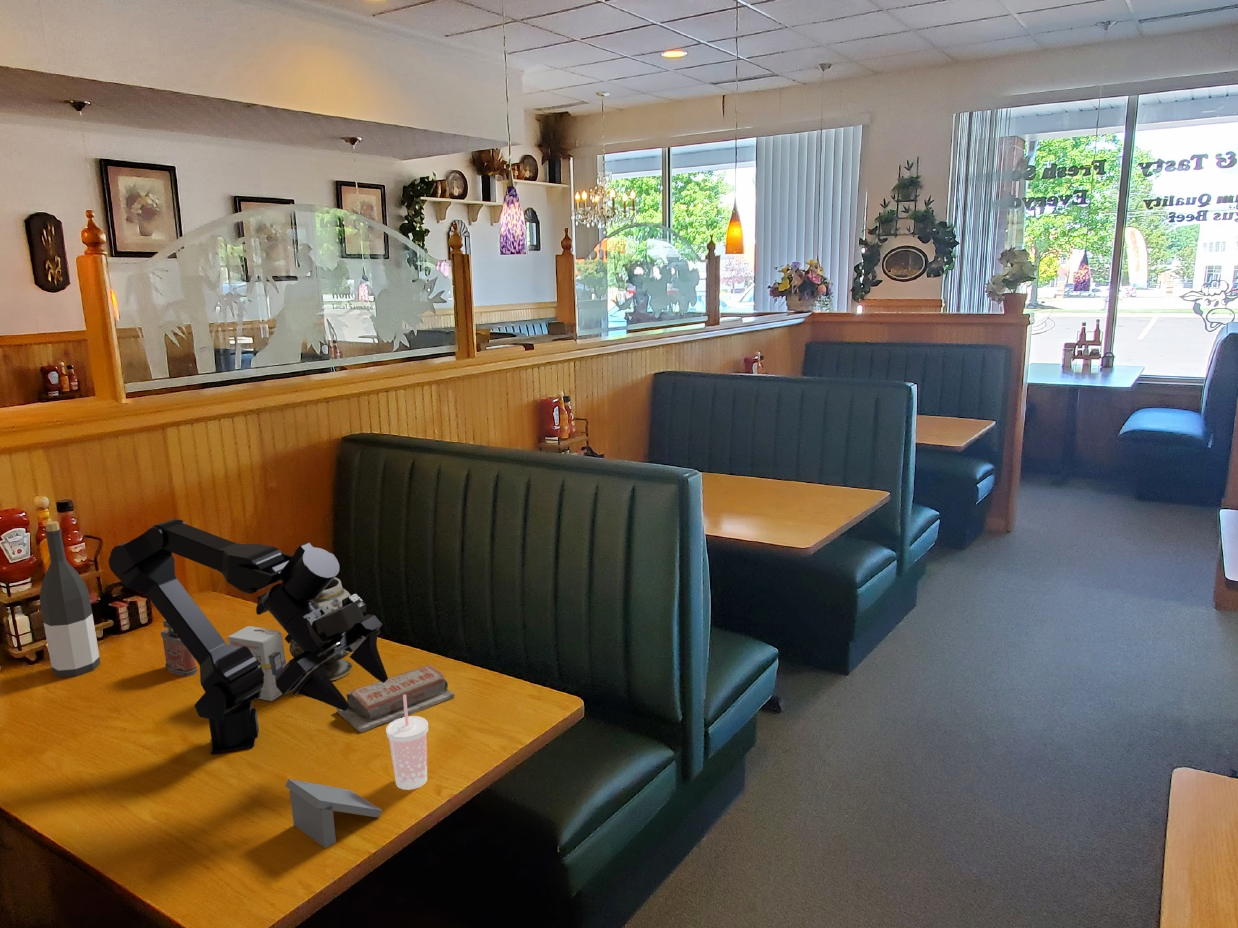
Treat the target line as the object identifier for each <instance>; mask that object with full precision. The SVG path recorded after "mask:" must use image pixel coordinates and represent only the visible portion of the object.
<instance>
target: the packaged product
mask: <svg viewBox="0 0 1238 928" xmlns="http://www.w3.org/2000/svg"><path fill="white" fill-rule="evenodd" d="M448 685H449V683H448V681H447V679H446V677H445V676H444V674H443V673H442V671H440V670H438V669H437V668H435V667H434V666H433V665H430V664H427V665H425V666H421V667H418V668H415V669H412V670H409V671H405V672H403V673H400V674H398V675H394V676H391V677H388V680H387V681H386V682H384V683H382V682H381V681H379V680H378V681H376V682H374V683H371V684H368V685H365V686H363V687H359V688H356V689H352V690H351V691H348V693H346V701H347V702H348V704H349V706H350V707H349V708H348V709H347V710H346V711H343V710H341V709H338V708H336V710H337V711H336V712H337V713H338V714H339V715H340V716H341V717H343V719H344V720H346V721H347V723H349V724H350V725H351V726H352V727H353V728H354V729H355V731H358V732H359V733H364V732H367V731H369V730H373V729H375V728H377V727H379V726H381V725H384V724H387V723H388V724H389V723H391V722H393V721H394V720H396V719H399V718H401V717H405V714H404V702H403V695H405V694H406V699H407V711H408V716H409V715H410V716H411V715H413V714H416V713H418V712H421V711H423V710H426V709H427V708H430V707H433V706H435V705H437V704H440V703H442V702H443V703H444V702H445V701H448V700H452V699H453V698H455V693H453V692H452V691H451V690H449V689H448V687H449V686H448Z"/></svg>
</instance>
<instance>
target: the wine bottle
mask: <svg viewBox="0 0 1238 928" xmlns="http://www.w3.org/2000/svg"><path fill="white" fill-rule="evenodd" d="M44 534H45V537H46V543H47V548H48V553H49V560H50V563H49V566H48V568H47V570H46V572H45V574H44V576H43V579H42V583H41V586H40V587H41V588H40V590H39V591H40V592H39V593H40V594H39V605H40V610H41V611H40V612H41V615H42V621H43V622H42V623H43V626H44V633H45V637H46V644H47V648H48V654H49V660H50V661H49V662H50V666H51V667H50V668H51V671H52V673H53V675H55V676H57V677H58V678H72V677H74V678H75V677H78V676H81V675H84V674H87V673H91V672H93V671H95V670H96V668H97V667H98V666H99V665H100V664H101V659H100V651H99V647H98V646H99V645H98V640H97V639H98V638H97V634H96V628H95V622H94V616H93V609H92V603H91V597H90V593H89V588H88V587H87V585H86V583H85V580H84V579H83V578H82V576H81V575H80V574H79V572H78V571H77V570H76V569H75V568H74V567H73V566H72V565H71V564H70V563H69V561H68V560H67V557H66V553H65V546H64V541H63V536H62V528H60V524H59V522H58V521H48V522H46V523H45V531H44Z"/></svg>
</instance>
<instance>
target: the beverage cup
mask: <svg viewBox="0 0 1238 928" xmlns="http://www.w3.org/2000/svg"><path fill="white" fill-rule="evenodd" d="M403 702H404V714H405V717H402V718H399V719H396V720H393V721H391V722H388V725H387V726H386V727H385V732H386V737H387V738H388V741H389V748H390V754H391V755H390V756H391V759H392V760H391V761H392V765H393V766H392V767H393V771H394V779H395V785H396V786H397V787H398V788H399V789H401V790H408V791H410V790H416V789H418V788H421V787H422V786H423V785H425V784H426V783H427V781H428V743H427V741H428V740H427V739H428V738H427V735H428V734H427V733H428V732H429V722H428V720H426V718H425V717H421V716H417V715H415V716H413V715H410V716H409V715H408V711H407V699H406V694H405V695H403Z"/></svg>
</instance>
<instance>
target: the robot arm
mask: <svg viewBox="0 0 1238 928" xmlns="http://www.w3.org/2000/svg"><path fill="white" fill-rule="evenodd" d="M173 554H175V555H177V556H180V557H182V558H184V559H188V560H189V561H192V562H195V563H197V564H199V565H202V566H206V567H207V568H210V569H213V570H215V571H217V572H219V573H221V574H222V575H223V578H224V579H225V581H226V583H228V585H231V586H232V587H234V588H235V589H237V590H239V591H241V592H242V593H245V594H249V595H251V594H255V593H257V592H259V591H262V590H264V589H265V588H268V587H270V586H271V588H270V589H269V591H267V592H264V593H263V594H260V595H258V596H256V599H257V602H256V607H255V608H256V609H255V612H256V615H257V616H260V615H263V614H264V613H266V612H269V613H270V614H271V615H272V617H274V619H275V620H276V621H277V622H278V624H279V625H280V626H281V627H282V628H283V630H284V631H285V632H286V633H287V635H286V636H285V638H284V640H285V641H286V643H288V644H289V645H290V643H291V642H293V641H295V642H296V643H297V645H298V646H299V647H300V648H301V649H302V650H303V653H301V654H300V655H298V656H296V657H295V658H294V657H292V658H291V659H289V661H288V662H286V665H285V667H284V668H283V669H282V670H281V671H280V672H279V673H278V675H277V676H276V677H275V680H276V687H277V688H278V689H279V690H280V691H281V693H282V695H283V696H285V695H287V694H288V693H290V692H291V694H292V695H293V696H296V695H301V696H303V697H307V698H310V699H313V700H317V701H319V702H321V703H324V704H326V705H329V706H331V707H334V708H336V709H337V708H338V709H341V710H343V711H346V710H347V709H348V708H349V707H350V706H349V704H348V701H347V698H345V696H344V695H343V694H342V693H341V691H340V690H339V689H338V687H337V686H336V685H335V684H334V683H333V681H331V680H330V679H329V678H328V676H327V672H326V666H325V663H324V662H325V661H327V660H328V659H330V658H332V657H333V656H335V655H336V654H338V653H340V652H341V651H343V650H345V651H349V652H350V656H349V658H350V659H352V660H353V662H355V663H356V664H358V665H359V666H360V667H362V669H364V670H365V671H366V672H367V673H368V674H370V675H371V676H372V677H374V678H375V679H376V680H378V682H379V681H381V682H382V683H384V682H386V681H387V680H388V678H389V677H388V674H387V671H386V669H385V667H384V663H383V661H382V658H381V655H380V652H379V649H378V645H377V642H378V635H380V633H381V630H380V628H381V627H382V626H383V623H382V622H381V621H380V620H379V619H378V617H377V616H376V615H374V614H369V613H368V614H366V615H364V613H365V612H366V611H367V605H366V603H365V602H364V600H363V599H362V598H361V597H360V596H359V595H358V594H357V593H353V594H350V595H351V596H348V597H347V598H345V599H343V600H342V607H340V608H338V609H336V610H334V611H332V610H331V609H330V608H329V607H328V606H325V605H324V606H322V607H320V608H319V607H318V606H317V605H316V603H315V602H314V601H313V600H312V599H316V598H317V597H318V596H319V595H320V594H321V593H322V592H323V590H324V589H325V588H326V587H327V586H328V584H329V583H330V582H331V581H332V580H333V579H334V577H335V578H336V576H337V575H338V574H339V572H340V563H339V561H338V559H337V557H336V556H335V554H333V553H332V552H329V551H328V550H325V549H323V548H320V547H314V546H313V545H312V544H311V543H310V542H305V543H303V544H301V545H299V546H297V548H296V549H295V551H294V553H293V555H291V554H288V553H285V552H283V551H281V549H279V548H277V547H276V546H272V545H268V544H261V543H245V544H244V543H237V542H233V540H232V541H231V540H229V539H227V538H224V537H221V536H217V534H216V535H215V534H213V533H210V532H208V531H205V530H202V529H199V528H197V527H195V526H192V525H189V524H187V523H186V522H185V521H184V520H182V519H177V518H173V519H169V520H167V521H164V522H161V523H157V524H154V525H152V526H151V527H150V528H149V529H147V530H146V531H145V532H144V533H142V534H140V535H139V536H137V537H134V538H133V539H131V540H130V541H128V542H127V541H126V542H124V543H120V544H119V545H115V546H113V548H112V549H111V551H110V555H109V557H108V562H107V563H108V567H109V569H110V571H111V572H112V573H113V575H114V576H115V577H116V578H118V580H119V581H120V582H122V584H123V585H124V586H125V587H127V588H128V589H130V590H133V591H134V592H135V591H136V592H138V593H141V594H142V595H145V596H147V598H148V599H149V601H150V602H151V603H152V604H153V606H154V607H155V608H156V609H157V611H158V612H159V614H160V615H161V616H162V618H163V619H164V620H166V621H167V623H168V624H169V625H170V627H171V628H172V629H173V631H174V632H175V633H176V634H177V636H178V637H179V638H180V640H181V641H182V642H183V644H184V645H185V646H186V648H187V649H188V650H189V652H190V653H191V654H192V656H193V657H194V659H195V662H197V663H198V665H199V676H200V678H199V679H200V680H199V681H200V682H199V683H200V685H201V687H202V689H203V691H204V693H203V694H202V695H201V697H199V699H198V700H197V701H196V703H194V708H195V710H196V713H197V716H198V717H199V718H203V719H207V720H208V725H209V732H210V738H211V739H210V741H211V747H210V754H212V755H215V754H220V753H221V754H222V753H226V752H227V753H228V752H233V751H238V750H244V749H250V748H253V747H255V743H256V739H257V738H258V737H259V733H260V726H259V720H258V710H257V708H256V707H253V703H252V702H253V701H255V700H258V698H259V697H260V694H261V689H262V687H263V684H264V672H263V670H262V668H261V667H260V666H259V665H261V663H260V662H259V661H258V660H256V658H255V657H254V656H253V655H252V653H251V651H250V650H249V648H247V647H246V646H242V647H240V648H238V649H236V648H234V647H231V646H229V643H227V642H226V640H225V639H224V638H223V637H222V636H221V635H220V633H219V632H218V630H217V629H216V628H215V626H214V625H213V624H212V622H211V621H210V620H209V618H208V617H207V616H206V614H205V613H204V612H203V611H202V609H201V608H200V607H199V605H198V604H197V603H196V602H195V600H194V599H193V598H192V596H191V595H190V593H189V592H188V591H187V590H186V589H185V587H184V585H183V584H182V583H181V582H180V581H179V579H178V578H177V576H176V560H175V557H174V555H173ZM278 582H279V583H278ZM280 582H281V583H280ZM343 633H344V634H343ZM342 634H343V636H342ZM334 648H335V649H334ZM324 654H325V655H324ZM323 655H324V656H323ZM322 663H324V664H322ZM320 664H322V665H320ZM319 665H320V666H319ZM318 666H319V667H318Z"/></svg>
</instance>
